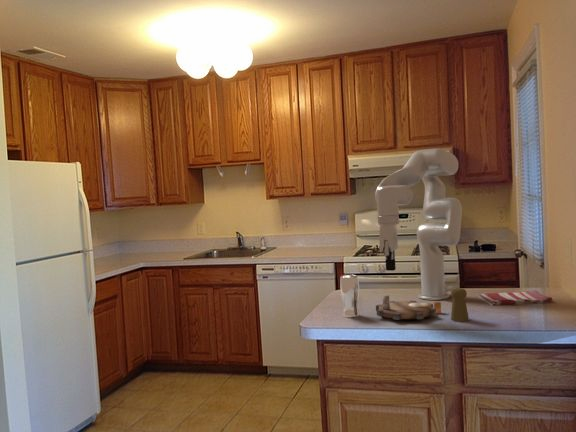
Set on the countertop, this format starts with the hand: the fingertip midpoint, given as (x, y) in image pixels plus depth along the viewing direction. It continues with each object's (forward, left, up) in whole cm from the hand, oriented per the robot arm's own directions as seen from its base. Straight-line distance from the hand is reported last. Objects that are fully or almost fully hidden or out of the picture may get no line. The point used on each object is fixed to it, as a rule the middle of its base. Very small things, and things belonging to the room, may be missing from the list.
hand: (390, 270), depth 182 cm
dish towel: (-54, +5, -18) cm, 57 cm away
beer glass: (+12, -10, -17) cm, 23 cm away
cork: (-16, +17, -17) cm, 29 cm away
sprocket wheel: (-4, +2, -16) cm, 17 cm away
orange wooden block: (-8, +2, -17) cm, 19 cm away
